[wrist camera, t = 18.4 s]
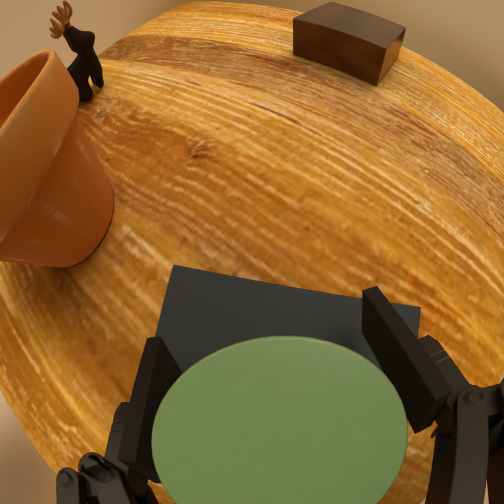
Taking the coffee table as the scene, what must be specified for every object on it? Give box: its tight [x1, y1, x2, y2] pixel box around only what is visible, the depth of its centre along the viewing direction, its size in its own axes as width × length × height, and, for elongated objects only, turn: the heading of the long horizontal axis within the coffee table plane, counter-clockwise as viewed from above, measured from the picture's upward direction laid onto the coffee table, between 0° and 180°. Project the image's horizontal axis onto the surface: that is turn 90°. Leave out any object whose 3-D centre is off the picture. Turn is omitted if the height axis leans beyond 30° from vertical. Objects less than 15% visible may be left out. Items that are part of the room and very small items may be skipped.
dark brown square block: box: [293, 2, 406, 86], centre depth 22 cm, size 10×10×5 cm
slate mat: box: [155, 265, 421, 374], centre depth 14 cm, size 16×12×1 cm
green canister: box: [152, 336, 408, 504], centre depth 9 cm, size 6×6×10 cm
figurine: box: [49, 0, 104, 102], centre depth 19 cm, size 11×7×15 cm
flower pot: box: [0, 49, 114, 268], centre depth 14 cm, size 14×14×13 cm
